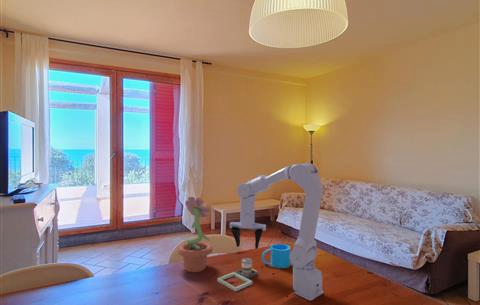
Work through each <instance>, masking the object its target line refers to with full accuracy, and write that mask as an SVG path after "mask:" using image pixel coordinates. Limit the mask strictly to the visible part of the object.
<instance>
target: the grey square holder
mask: <svg viewBox="0 0 480 305" xmlns="http://www.w3.org/2000/svg"><path fill="white" fill-rule="evenodd" d="M235 273H237V274H239V275H241V276H243V277H245V278H247V279H249V280H250V278H253V277H256V276H258V275H259V272H258V271H257V270H256V269H254V268H252V274H250V275H247V276H246V275H244V274H242V268H241V269H238V270H236V271H235Z"/></svg>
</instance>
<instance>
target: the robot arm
mask: <svg viewBox="0 0 480 305" xmlns="http://www.w3.org/2000/svg"><path fill="white" fill-rule="evenodd" d="M286 179H287V180H291V181H293V182H294V183H295V184H296V185H298V186H299V187H301V189H302V190H303V191H304V193H305V197H304V203H303V209H302V214H301V220H300V224H299V227H300V228H299V232H298V236H297V238H296V241H295V242H294V243H293V244H294V245H293V248H292V250H290V264H291V265H292V288H293V290H294V291H292V292H291V293H293V294H295V295H297V296H299V297H301V298H303V299H305V300H307V301H309V302H310V301H313V300H315V299H316V298H318V297H319V296H321V295H322V294H324V291H323V273H322V271H321V270H319V269H318V268H316V267H315V266H316V265H315V259H317V256H318V249H317V241H316V239H315V238H316V237H315V236H316V232H317V226H318V220H319V215H320V214H319V213H320V209H321V204H322V203H321V202H322V199H323V198H322V197H323V192H324V187H323V184H322V182H321V179H320V171H319V170H318V168H317V167H316V166H315V165H314V164H313V163H310V162H305V163H294V164H292V165H288V166H285V167H283V168H281V169H279V170H278V171H276V172H273V173H272V174H270V175H264V174H258V175H257V176H256V178H253V179H248V181H247V182H242V183H240V184H239V185H238V186H237V188H236V191H237V196H239V197H240V198H239V199H240V200H239V201H240V203H239V205H240V206H239V207H240V209H239V210H240V213H239V214H240V216H239V217H240V218H239V221H230V222H229V229H231V230H230V232H231V233H232V235H233V237H234V241H235V244H236V247H237V248H239V247H240V246H241V230H242V229H247V230H255V231H254V236H255V244H254V245H255V246H254V248H255V250H257V249H258V248H259V245H260V240H261V237H262V235H263V232H264V231H266V229H267V224H264V223H258V222H255V221H256V218H255V217H256V216H255V213H256V211H255V210H256V208H255V207H256V206H255V204H256V203H255V202H256V201H255V200H256V196H257V194H261V193H262V192H265V191H268V190H269V189H270V188H271V185H273V184H275V183H277V182H281V181H283V180H286Z"/></svg>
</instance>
